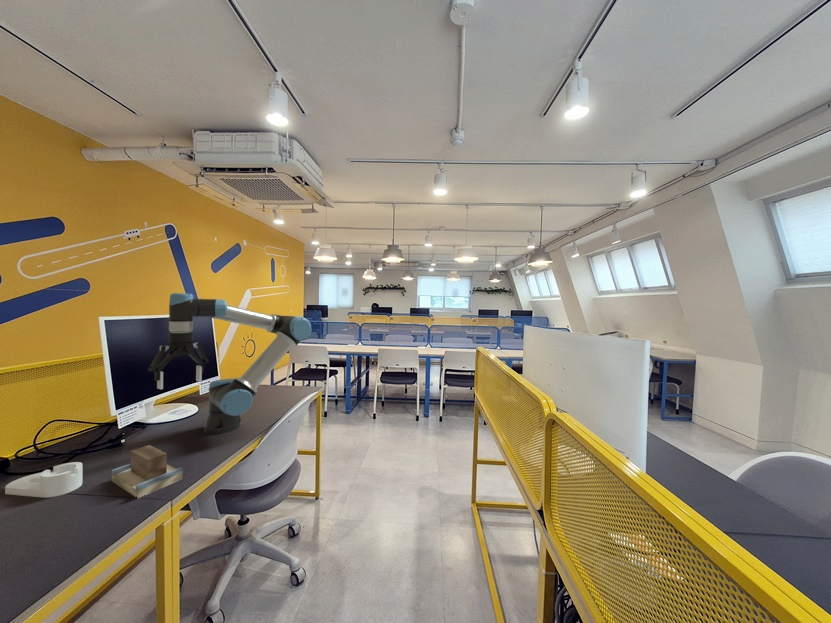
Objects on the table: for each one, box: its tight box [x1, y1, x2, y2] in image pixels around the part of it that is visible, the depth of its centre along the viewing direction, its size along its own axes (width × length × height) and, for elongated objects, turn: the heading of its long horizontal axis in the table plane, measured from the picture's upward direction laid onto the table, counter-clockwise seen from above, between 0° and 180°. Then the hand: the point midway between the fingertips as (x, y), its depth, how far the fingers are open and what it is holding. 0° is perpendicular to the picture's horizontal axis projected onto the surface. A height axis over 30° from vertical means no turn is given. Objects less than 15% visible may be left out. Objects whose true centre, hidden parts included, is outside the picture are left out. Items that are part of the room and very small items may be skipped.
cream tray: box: [111, 462, 184, 499], centre depth 103 cm, size 12×18×4 cm, turn 63°
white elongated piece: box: [4, 461, 83, 499], centre depth 97 cm, size 20×9×7 cm, turn 85°
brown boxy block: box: [130, 444, 168, 481], centre depth 103 cm, size 5×12×7 cm, turn 62°
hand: (180, 384), depth 123 cm, fingers open, 13 cm apart
